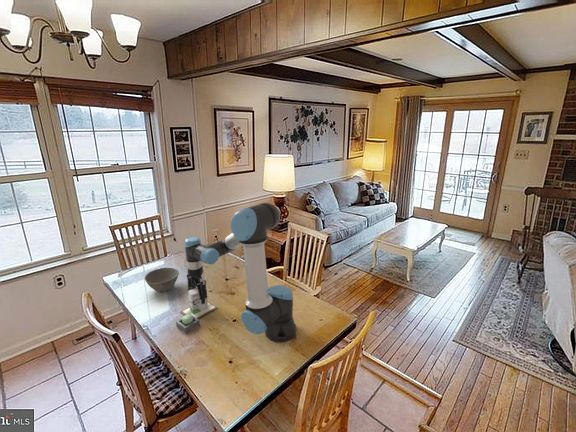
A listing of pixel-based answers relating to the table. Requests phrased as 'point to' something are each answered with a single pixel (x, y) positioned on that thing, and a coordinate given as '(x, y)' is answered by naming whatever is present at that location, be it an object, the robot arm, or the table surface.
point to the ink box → (196, 301)
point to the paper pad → (200, 314)
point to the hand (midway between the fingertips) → (198, 305)
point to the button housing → (188, 327)
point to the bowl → (162, 278)
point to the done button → (187, 320)
